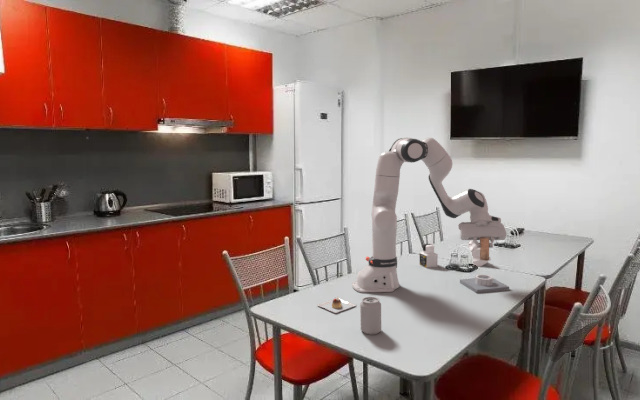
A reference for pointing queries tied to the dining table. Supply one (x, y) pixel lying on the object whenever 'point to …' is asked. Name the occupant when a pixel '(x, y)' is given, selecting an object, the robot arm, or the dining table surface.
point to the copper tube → (484, 248)
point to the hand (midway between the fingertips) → (484, 247)
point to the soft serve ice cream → (476, 254)
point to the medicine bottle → (428, 256)
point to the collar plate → (483, 288)
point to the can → (370, 315)
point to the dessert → (337, 304)
